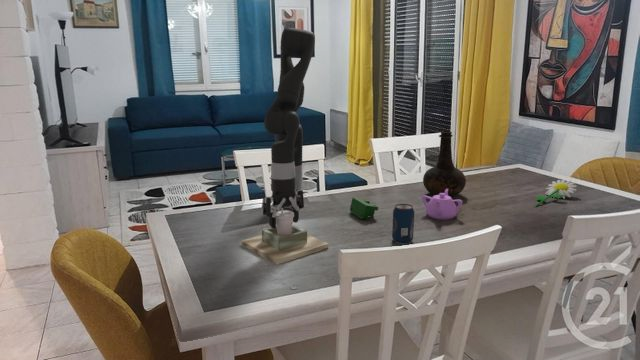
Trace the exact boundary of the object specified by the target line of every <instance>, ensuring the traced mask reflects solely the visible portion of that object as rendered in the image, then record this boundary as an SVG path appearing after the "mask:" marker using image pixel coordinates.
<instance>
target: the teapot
mask: <svg viewBox="0 0 640 360" xmlns="http://www.w3.org/2000/svg"><path fill="white" fill-rule="evenodd" d="M427 199H428V200H429V201H428V203H427ZM421 201H422V203H423V205H424V207H425V212H426V215H427V216H429V217H430V218H431V219H435V220H445V221H447V220H451V219H453V218H455V217H456V215H457V212H458V211H459V209H460V208H461V207H462V205H463V200H462V199H453V198H452V197H450V196H448V189H446V190H445V192H444V193H439V195H435V196H434V195H432V196H428V195H422V198H421ZM456 203H458V204H457V206H456Z"/></svg>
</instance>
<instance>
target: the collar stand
mask: <svg viewBox="0 0 640 360" xmlns="http://www.w3.org/2000/svg"><path fill="white" fill-rule="evenodd" d="M240 242H241V246H242V247H244V248H246V249H247V250H250V251H252V252H254V253H255V254H257V255H259V256H261V257H262V258H264V259H266V260H267V261H270V262H271V263H273V264H275V265H279V264H282V263H283V264H284V263H285V262H289V261H293V260H295V259H298V258H301V257H304V256H308V255H311V254H313V253H317V252H320V251H323V250H327V249H329V243H328V242H326V241H324V240H321V239H319V238H316V237H315V236H312V235H310V234H308V231H307V230H305V229H303V228H301V227H298V226H296V225H295V224H292V232H291V234H289V235H286V236H282V237H281V236H279V235H278V232H277V226H276V228H274V229H273V228H271V227H270V226H269V227H267V228H263V229H261V235H257V236H254V237H251V238H247V239H243V240H241V241H240Z"/></svg>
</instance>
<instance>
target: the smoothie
mask: <svg viewBox="0 0 640 360" xmlns="http://www.w3.org/2000/svg"><path fill="white" fill-rule="evenodd" d="M275 217H276V226H277V232H278V235H279V236H281V237H282V236H286V235H289V234H291V232H292V225H293V223H294V222H293V217H294V212H292V210H286V209H285V210H284V208H281V209H280V210H279V211H278V212H277V214H276V216H275Z"/></svg>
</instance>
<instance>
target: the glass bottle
mask: <svg viewBox="0 0 640 360" xmlns="http://www.w3.org/2000/svg"><path fill="white" fill-rule="evenodd" d="M452 133H453V132H452V131H449V130H442V131H440V134H439V135H438V137H439V138H440V141H439V142H440V143H439V152H438V158H437V162H436V164H435V166H433V167H429V169H427V170H426V171H425V173H424V174H423V178H422V183H423V185H424V186H423V187H424V188H425V189H426V191H427V192H428V193H429V194H431V195H432V196H435V195H439V193H444V192H445V190H446V189H448V196H450V197H451V198H452V197H456V196H458V195H460V194H461V193H462V192H463V190H464V189H465V187H466V183H467V179H466V175H465V174H464V172H463V171H461V170H460V169H459V168H457V167H455V164H454V162H453V156H452V155H453V154H452V137H453V136H454V135H453V134H452Z"/></svg>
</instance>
